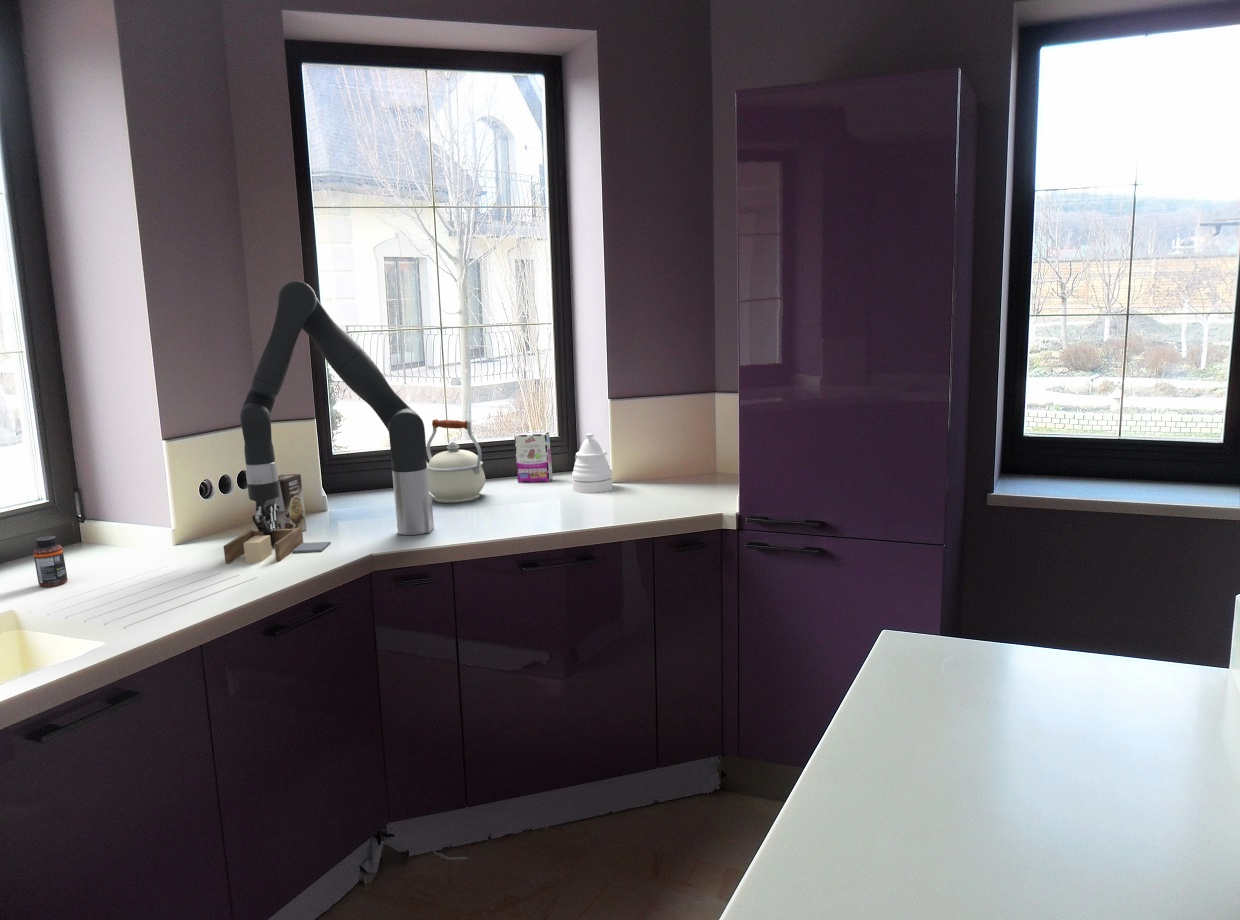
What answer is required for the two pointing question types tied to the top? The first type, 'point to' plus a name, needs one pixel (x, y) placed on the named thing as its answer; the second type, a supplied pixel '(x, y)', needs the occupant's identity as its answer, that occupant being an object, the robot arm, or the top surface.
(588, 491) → the honey pot
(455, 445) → the kettle
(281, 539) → the shelf bay
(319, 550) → the slate pad
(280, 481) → the coffee box
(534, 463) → the candy bar box
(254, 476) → the robot arm
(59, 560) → the supplement bottle
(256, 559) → the block
